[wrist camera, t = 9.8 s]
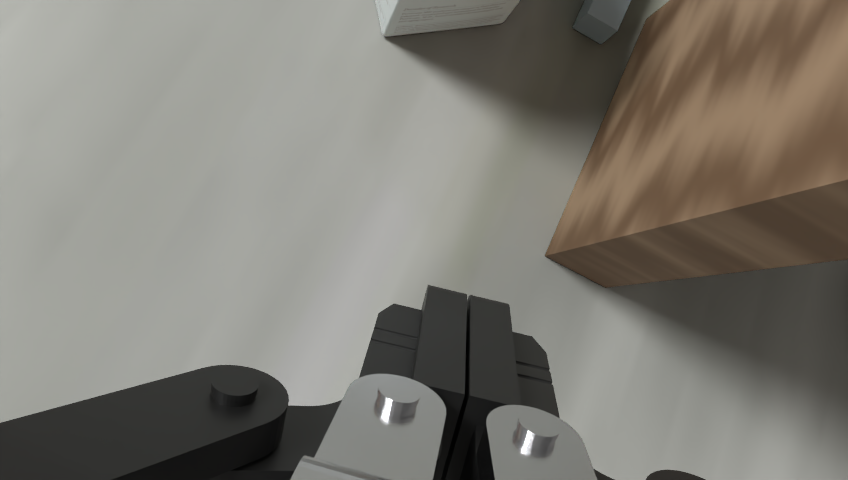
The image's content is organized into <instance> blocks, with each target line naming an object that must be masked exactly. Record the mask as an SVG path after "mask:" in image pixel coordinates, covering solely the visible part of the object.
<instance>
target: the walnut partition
mask: <svg viewBox="0 0 848 480" xmlns="http://www.w3.org/2000/svg"><path fill="white" fill-rule="evenodd" d="M545 256H546V257H548V258H550V259H552V260H553V261H555V262H557V263H559V264H561V265H563V266H565V267H567V268H569V269H571V270H573V271H575V272H576V273H578V274H580V275H582V276H584V277H586V278H588V279H590V280H592V281H594V282H596V283H598V284H599V285H601V286H603V287H605V288H607V287H616V286H624V285H633V284H641V283H650V282H658V281H667V280H676V279H684V278H693V277H701V276H710V275H718V274H727V273H735V272H744V271H753V270H761V269H770V268H778V267H787V266H795V265H804V264H813V263H821V262H830V261H838V260H847V259H848V0H670V1H668V2H667V3H666V4H665V5H663V6H662V7H661V8H660V9H658V10H657V11H656V12H655V13H653V14H652V15H651V16H650V17H648V18H647V19H646V21H645V24H644V26H643V28H642V31H641V33H640V35H639V38H638V40H637V42H636V45H635V47H634V49H633V52H632V54H631V56H630V59H629V61H628V63H627V66H626V68H625V70H624V73H623V75H622V77H621V80H620V82H619V84H618V87H617V89H616V91H615V94H614V96H613V98H612V101H611V103H610V105H609V108H608V110H607V112H606V115H605V117H604V119H603V122H602V124H601V126H600V129H599V131H598V133H597V135H596V138H595V140H594V142H593V145H592V147H591V149H590V152H589V154H588V156H587V159H586V161H585V163H584V166H583V168H582V170H581V173H580V175H579V177H578V180H577V182H576V184H575V187H574V189H573V191H572V194H571V196H570V198H569V201H568V203H567V205H566V208H565V210H564V212H563V215H562V217H561V219H560V222H559V224H558V226H557V229H556V231H555V233H554V236H553V238H552V240H551V243H550V245H549V247H548V250H547V252H546V254H545Z"/></svg>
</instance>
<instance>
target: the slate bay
mask: <svg viewBox="0 0 848 480" xmlns="http://www.w3.org/2000/svg"><path fill="white" fill-rule="evenodd" d="M630 1H631V0H585V1H584V3H583V5H582V7H581V9H580V12H579V14H578V16H577V18H576V20H575V23H574V25H573V27H572V28H574V29H575V30H577V31H579V32H580V33H582V34H584V35H586V36H587V37H589V38H591V39H592V40H594V41H596V42H598V43H599V44H602V43H604V42H605V41H606V40H607V39H608V38H610V37H611V36H612V35H613V34H614V33H616V32H617V31H618V29H619V27H620V24H621V22H622V20H623V17H624V15H625V13H626V11H627V8H628V6H629V4H630Z"/></svg>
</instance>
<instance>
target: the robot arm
mask: <svg viewBox="0 0 848 480" xmlns="http://www.w3.org/2000/svg"><path fill="white" fill-rule="evenodd" d="M288 402H289V398H288V394H287V391H286V389H285V388H284V386H283V385H282V384H281V383H280V382H279V381H278V380H276V379H275V378H273V377H272V376H270V375H268V374H266V373H264V372H262V371H259V370H256V369H253V368H249V367H243V366H235V365H218V366H210V367H205V368H201V369H198V370H194V371H190V372H187V373H183V374H179V375H176V376H172V377H168V378H164V379H161V380H157V381H153V382H150V383H146V384H142V385H139V386H135V387H131V388H128V389H124V390H120V391H116V392H113V393H109V394H105V395H102V396H98V397H94V398H91V399H87V400H83V401H80V402H76V403H72V404H69V405H65V406H61V407H57V408H54V409H50V410H46V411H43V412H39V413H35V414H32V415H28V416H24V417H21V418H17V419H13V420H9V421H6V422H2V423H0V480H614V479H612V478H609V477H607V476H605V475H603V474H601V473H600V472H598V471H596V470H595V469H593V467H592V464H591V461H590V458H589V456H588V453H587V450H586V447H585V445H584V442H583V440H582V438H581V437H580V436H579V434H578V433H577V432H576V431H575V430H574V429H573V428H572V427H571V426H570V425H568V424H567V423H566V422H564V421H563V420H561V419H560V417H559V413H558V408H557V403H556V398H555V393H554V388H553V385H552V379H551V374H550V372H549V364H548V359H547V354H546V352H545V351H544V350H543V349H542V348H541V346H540V345H539V344H538V343H537V342H536V341H535V339H534V338H533V337H532V336H527V335H523V334H519V333H515V332H512V324H511V316H510V307H509V304H506V303H502V302H498V301H493V300H489V299H485V298H481V297H477V296H472V295H469V297H468V300H467V294H464V293H459V292H455V291H451V290H447V289H443V288H439V287H434V286H430V285H428V287H427V290H426V294H425V298H424V302H423V306H422V310H418V309H414V308H410V307H406V306H401V305H397V304H393V305H391V306H389V307H388V308H386V309H385V310H383V311H381V312H380V313H379V314H378V317H377V321H376V324H375V327H374V331H373V334H372V337H371V341H370V344H369V347H368V350H367V353H366V357H365V360H364V363H363V367H362V370H361V373H360V376H359V378H358V379H356V380H355V381H353V382H352V383H351V384H350V386H349V387H348V389H347V391H346V393H345V395H344V397H343V399H342V400H341V401H338V402H335V403H332V404H327V405H321V406H288ZM646 480H705V479H703V478H700V477H698V476H695V475H692V474H689V473H686V472H681V471H675V470H660V471H656V472H654V473H652V474H650V475H649V476H648V477H647V479H646Z"/></svg>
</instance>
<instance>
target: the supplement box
mask: <svg viewBox="0 0 848 480" xmlns="http://www.w3.org/2000/svg"><path fill="white" fill-rule="evenodd" d="M375 2H376V7H377V11H378V16H379V21H380V25H381V30H382V35H383V36H384V37H386V36H396V35H406V34H415V33H423V32H434V31H442V30H452V29H460V28H469V27H477V26H486V25H493V24H500V23H503V22H504V21H505V20H506V19H507V17H508V16H509V14H510V13H511V12H512V11H513V9H514V8H515V7H516V6H517V4H518V3H519V2H520V0H375Z"/></svg>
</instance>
